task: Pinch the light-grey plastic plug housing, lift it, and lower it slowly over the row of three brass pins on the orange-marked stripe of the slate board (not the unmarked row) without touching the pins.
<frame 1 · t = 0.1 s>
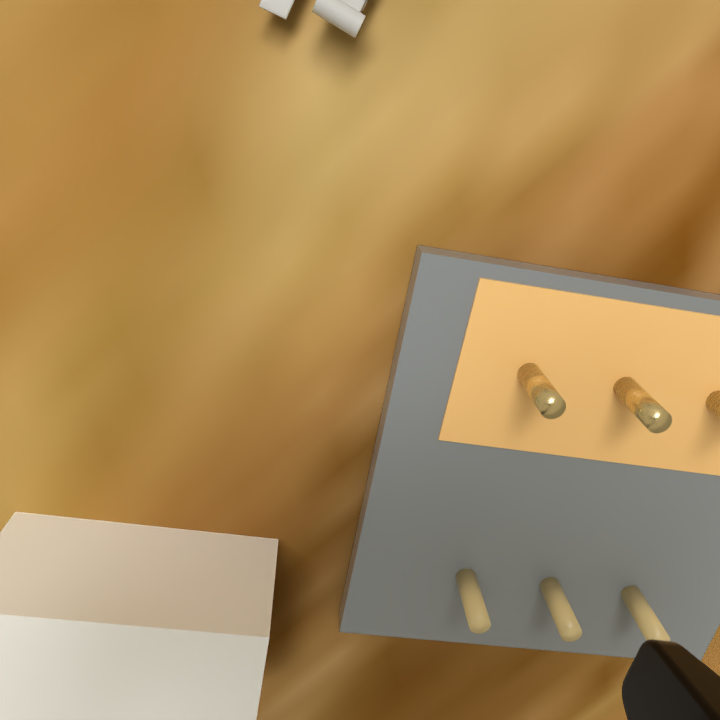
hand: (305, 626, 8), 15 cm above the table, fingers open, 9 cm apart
header board: (574, 477, 25), on the table
plug housing: (147, 574, 26), on the table
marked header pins: (623, 385, 22), resting on header board
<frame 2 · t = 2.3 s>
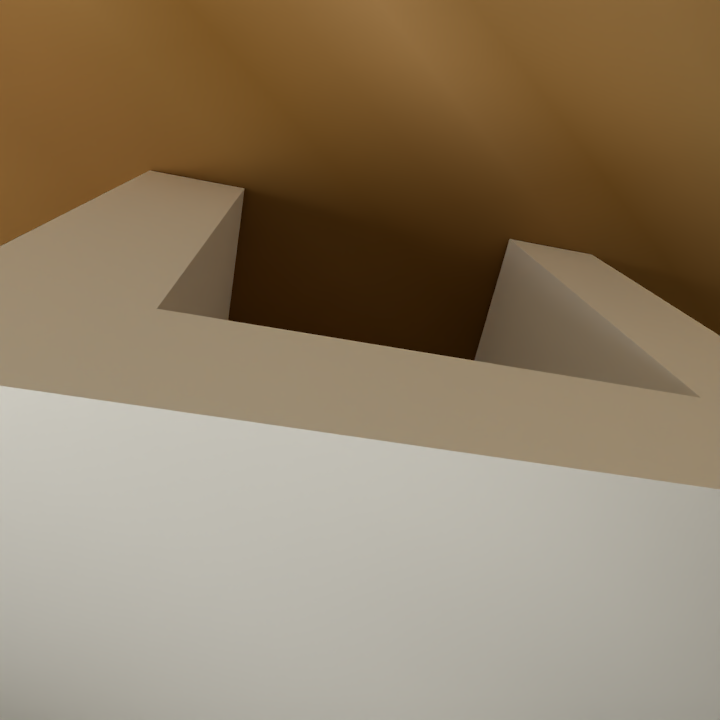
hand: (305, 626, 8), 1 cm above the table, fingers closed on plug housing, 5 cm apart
plug housing: (307, 567, 9), on the table, touching gripper
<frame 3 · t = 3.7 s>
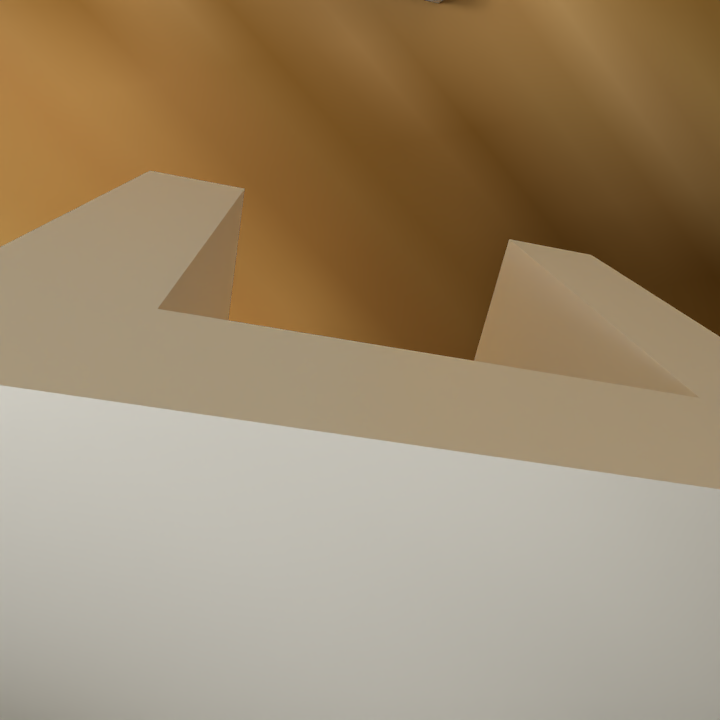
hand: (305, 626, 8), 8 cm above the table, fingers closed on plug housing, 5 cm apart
plug housing: (306, 567, 9), point 7 cm above the table, touching gripper
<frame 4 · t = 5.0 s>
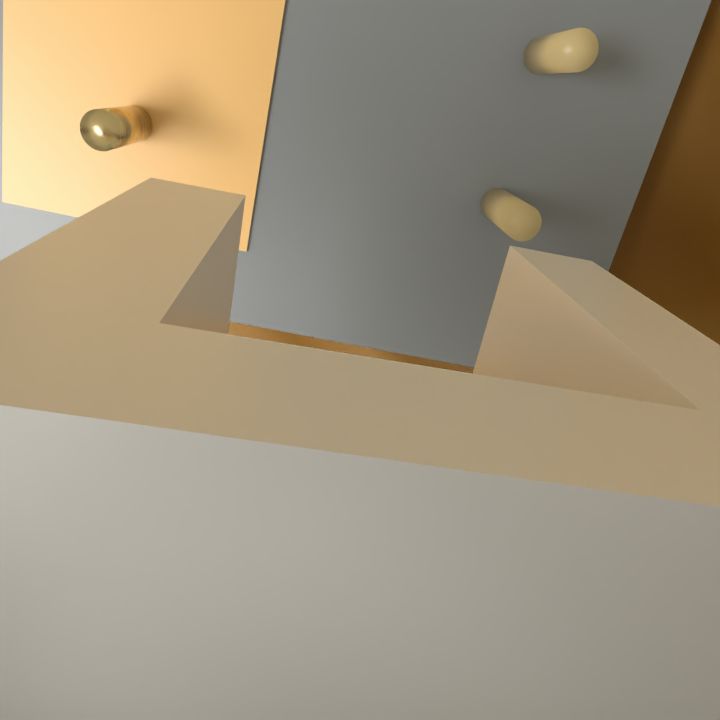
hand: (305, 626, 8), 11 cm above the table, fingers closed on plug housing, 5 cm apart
header board: (351, 12, 15), on the table
plug housing: (307, 572, 9), point 10 cm above the table, touching gripper
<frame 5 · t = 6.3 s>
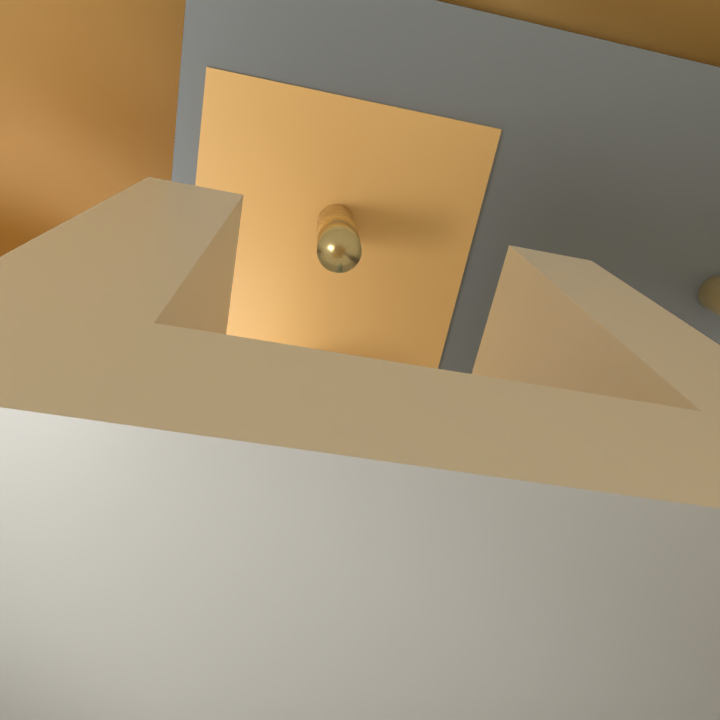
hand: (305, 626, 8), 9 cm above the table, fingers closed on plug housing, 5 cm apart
header board: (481, 378, 17), on the table
plug housing: (306, 573, 9), point 8 cm above the table, touching gripper
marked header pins: (309, 367, 15), resting on header board
when the fingers open (4 cm above the table, at t = 7.5 s): plug housing drops 2 cm, resting on header board.
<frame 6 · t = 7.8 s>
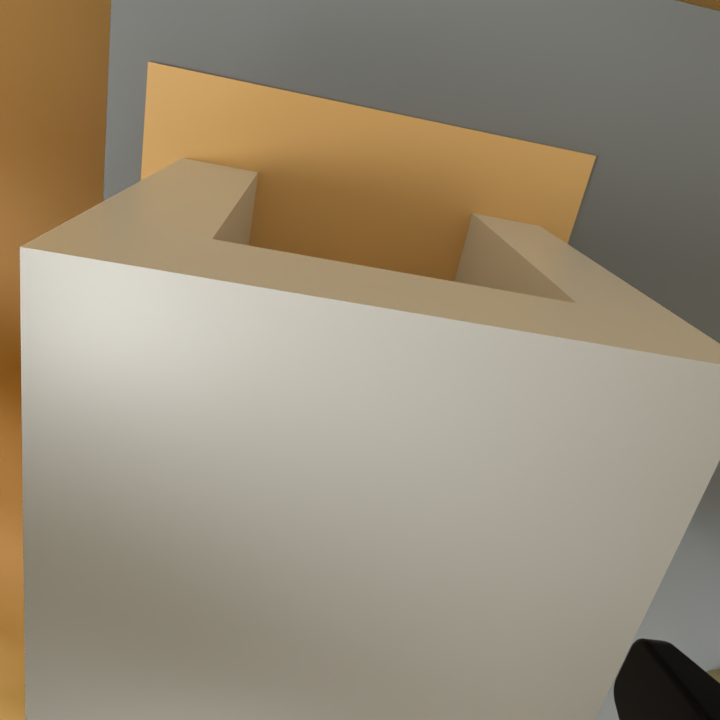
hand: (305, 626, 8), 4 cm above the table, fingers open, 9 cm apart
header board: (541, 487, 12), on the table
plug housing: (309, 493, 11), point 1 cm above the table, touching header board
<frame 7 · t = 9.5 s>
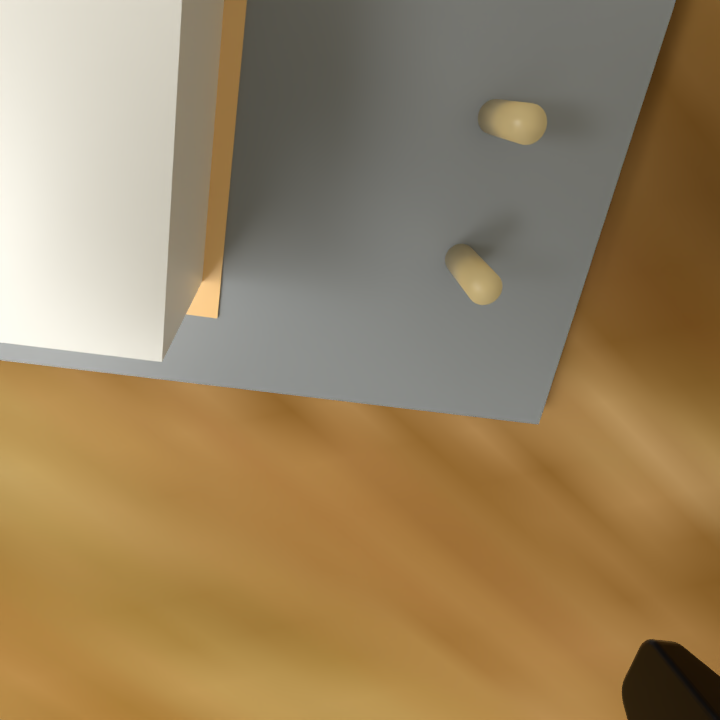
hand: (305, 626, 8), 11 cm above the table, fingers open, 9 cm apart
header board: (306, 81, 16), on the table
plug housing: (102, 46, 14), point 1 cm above the table, touching header board
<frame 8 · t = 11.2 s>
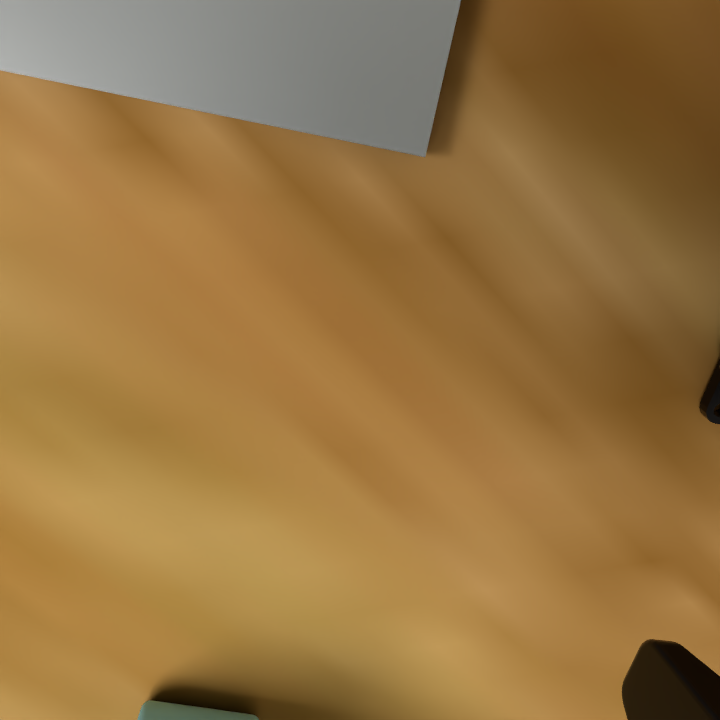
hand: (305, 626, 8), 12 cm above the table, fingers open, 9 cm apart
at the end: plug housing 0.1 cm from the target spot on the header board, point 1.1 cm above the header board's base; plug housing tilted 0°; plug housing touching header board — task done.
